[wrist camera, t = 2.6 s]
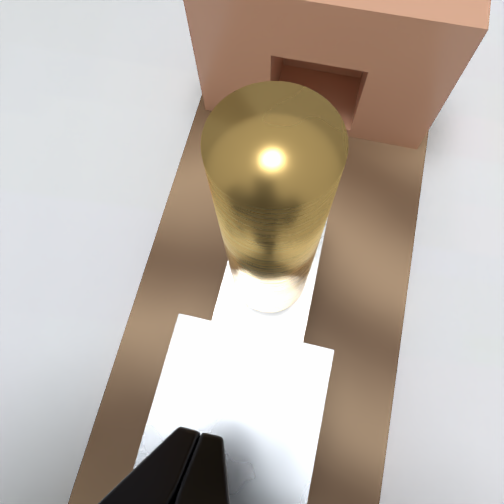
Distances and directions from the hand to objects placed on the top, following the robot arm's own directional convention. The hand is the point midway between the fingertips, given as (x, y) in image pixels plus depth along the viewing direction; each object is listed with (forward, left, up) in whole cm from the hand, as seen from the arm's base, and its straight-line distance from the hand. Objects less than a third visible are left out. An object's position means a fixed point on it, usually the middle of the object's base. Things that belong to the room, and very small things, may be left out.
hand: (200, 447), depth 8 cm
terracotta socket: (+16, 0, -9) cm, 19 cm away
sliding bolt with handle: (+1, 0, -9) cm, 9 cm away
